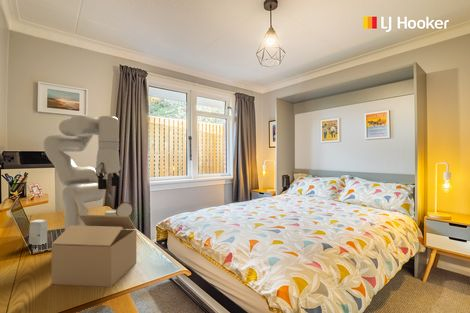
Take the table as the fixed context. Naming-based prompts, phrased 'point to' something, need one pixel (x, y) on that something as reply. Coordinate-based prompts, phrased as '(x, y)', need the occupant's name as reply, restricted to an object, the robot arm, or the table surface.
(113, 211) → the coffee cup
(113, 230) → the front flap
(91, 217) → the back flap
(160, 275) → the table surface
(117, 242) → the carton
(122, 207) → the magnifying glass
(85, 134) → the robot arm
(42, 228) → the skincare box
